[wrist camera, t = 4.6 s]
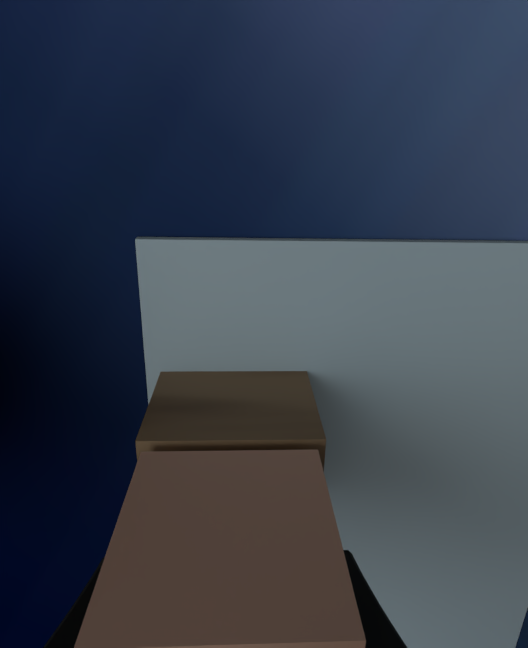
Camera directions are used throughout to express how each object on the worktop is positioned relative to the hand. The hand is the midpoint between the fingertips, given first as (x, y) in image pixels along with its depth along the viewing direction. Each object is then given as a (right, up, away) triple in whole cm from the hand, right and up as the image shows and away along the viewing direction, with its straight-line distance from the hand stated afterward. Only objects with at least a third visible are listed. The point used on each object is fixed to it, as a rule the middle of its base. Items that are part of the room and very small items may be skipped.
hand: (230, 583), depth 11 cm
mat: (+5, 0, +7) cm, 9 cm away
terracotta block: (0, +1, +2) cm, 2 cm away
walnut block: (0, +2, +6) cm, 6 cm away
